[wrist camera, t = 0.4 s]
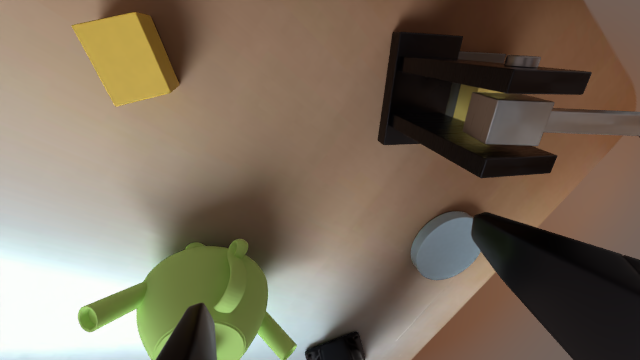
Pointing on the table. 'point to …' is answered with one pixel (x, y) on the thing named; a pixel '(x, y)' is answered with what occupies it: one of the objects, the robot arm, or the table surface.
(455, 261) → the plate
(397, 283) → the table surface
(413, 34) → the cutter
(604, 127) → the arm
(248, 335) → the teapot
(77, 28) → the butter pat
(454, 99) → the butter dish
